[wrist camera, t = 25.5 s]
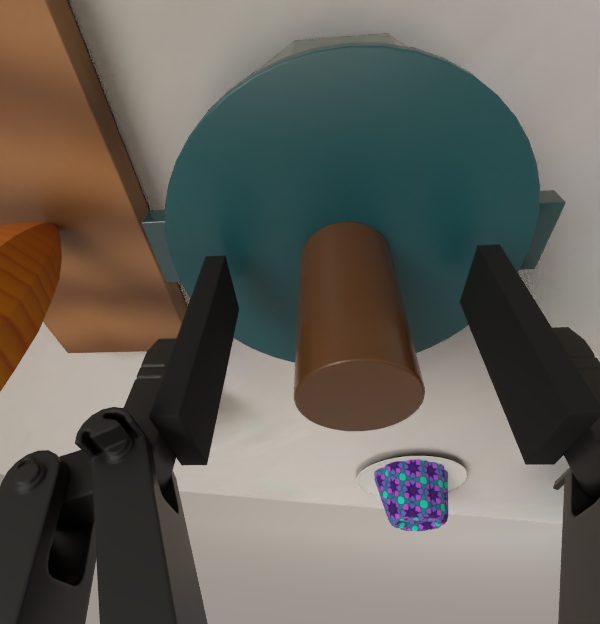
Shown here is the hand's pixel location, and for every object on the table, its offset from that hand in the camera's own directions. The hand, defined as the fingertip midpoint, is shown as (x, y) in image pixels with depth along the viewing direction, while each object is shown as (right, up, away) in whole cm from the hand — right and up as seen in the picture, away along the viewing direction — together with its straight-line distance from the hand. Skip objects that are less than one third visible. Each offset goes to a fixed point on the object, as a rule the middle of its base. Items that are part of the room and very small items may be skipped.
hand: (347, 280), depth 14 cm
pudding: (+11, -19, +28) cm, 36 cm away
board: (-14, +4, +6) cm, 16 cm away
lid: (0, +1, +1) cm, 2 cm away
